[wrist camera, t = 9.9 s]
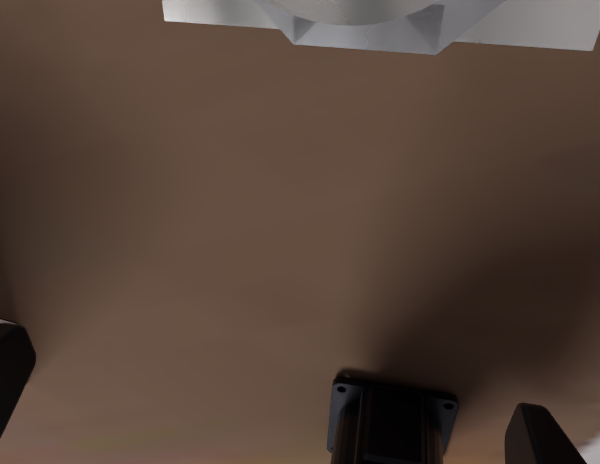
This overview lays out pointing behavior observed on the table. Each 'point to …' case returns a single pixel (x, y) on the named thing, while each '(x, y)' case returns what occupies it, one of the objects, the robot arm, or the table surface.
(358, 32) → the camera body
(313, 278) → the table surface
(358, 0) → the lens
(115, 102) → the table surface
